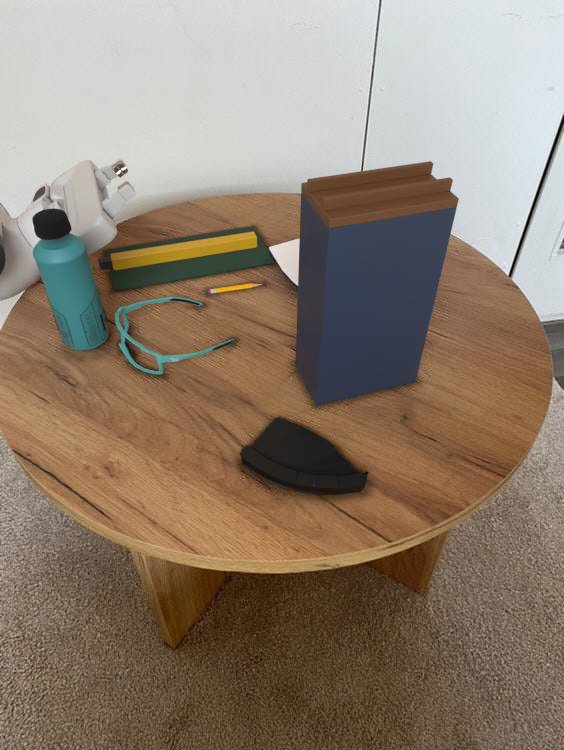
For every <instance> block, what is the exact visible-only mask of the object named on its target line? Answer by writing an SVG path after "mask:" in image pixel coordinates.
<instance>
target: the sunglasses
mask: <svg viewBox="0 0 564 750" xmlns="http://www.w3.org/2000/svg"><path fill="white" fill-rule="evenodd" d="M168 302H172V303H173V302H175V303H176V302H177V303H178V302H179V303H185V304H188V305H189V304H190V305H194V306H197V307H201V306H203V302H200V301H197V300H193V299H189V298H184V297H179V296H177V297H176V296H168V297H167V296H166V297H159V298H153V299H148V300H142V301H138V302H133V303H129V304H127V305H124V306H119V308H118V309H117V310H116V312H115V314H114V323H115V326H116V328H117V329H118V331H119V333H120V342H119V343H118V347H119V349H120V350H121V351H122V353H123V354H124V356H125V358H126V359H127V361H129V363H130V364H131V365H132V367H133V366H134V367H135V368H136V369H138V370H140V371H142V372H144V373H148V374H150V375H157V376H158V375H159V376H160V375H162V374H164V373H165V370H164V369H165V367H164V364H165V363H178V362H180V361H182V360H185V359H190V358H194V357H199V356H205V355H208V354H210V353H212V352H214V351H216V350H220V349H222V348H224V347H226V346H229V345H231V344H233V343H234V342H235V340H236V339H235V338H231V339H229V340H226V341H224V342H221V343H219V344H216V345H212V346H211V347H208V348H206V349H203V350H200V351H199V350H198V351H195V352H190V353H183V354H182V353H181V354H164V355H162V354H161V353H159V352H156V351H154V350H151V349H149V348H147V347H145V346H144V345H143V344H142V343H140V342H138V341H137V340H135V339H133V338H132V337H131V335H129V334H128V332H129V328H130V323H129V319H128V315H127V313H129V312H133V311H136V310H138V309H140V308H142V307H144V306H147V305H149V304H150V305H151V304H163V303H168ZM120 314H121V317H122V322H123V324H124V328H123V327H122V325H121V323H120V318H119V317H120ZM126 339H127V340H128V341H129V343H132V344H133V345H134V346H136V347H138V348H139V349H140V350H141V351H143V352H145V353H147V354H150V355H152V356H154V357H155V358H156V362H157V366H158V370H153V369H149V368H145V367H143V366H142V365H140V364H138V363H137V362H136V361H135V358H137V354H136V353H135V352H134V351H135V350H133V349H132V348H131V347H130V344H129V343H128V342H127V341H126Z"/></svg>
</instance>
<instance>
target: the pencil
mask: <svg viewBox="0 0 564 750" xmlns="http://www.w3.org/2000/svg"><path fill="white" fill-rule="evenodd" d="M261 285H263V284H262V283H253V282H251V283H244V284H237V285H230V286H223V287H216V288H210V289H207V292H208V294H209V295H210V294H217V293H218V294H219V293H225V292H232V291H239V290H244V289H252V288H256V287H259V286H261Z"/></svg>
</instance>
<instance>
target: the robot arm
mask: <svg viewBox="0 0 564 750" xmlns="http://www.w3.org/2000/svg"><path fill="white" fill-rule="evenodd" d="M128 172H129V169H128V165H127V164H126V163H125V162H124V160H123V159H121V158H119V159H117V160H115V161H114V162H113V163H111V164H107V165H104V166H101V167H98V166H97V165H96V164H95V163H94V162H93V161H92V160H91V159H86V160H83V161H80V162H78V163H77V164H75V165H74V166H72V167H70V168H69V169H67V170H66V171H64V172H63V173H62V174H60V175H59V176H57V177H56V178H55V179H54V180H53V181H52V183H50V185H49V184H48V183H43V184H42V185H40V186H39V187H38V188H37V189H36V191H35V193H34V196H33V198H32V200H31V202H30V204H29V205H28V206H27V207H26V209H25V210H24V211H23V212H22V213H21V214H19V215H18V216H16V217H12V216H11V215H10V213H9V212H8V210H7V208H5V206H4V205H3V204H2V203H1V202H0V302H2V301H5V300H8V299H11V298H13V297H16V296H18V295H19V294H21V293H23V292H24V291H26V290H27V289H28V288H31V286H33V285H34V284H35V283H38V281H40V279H42V278H41V275H40V272H39V269H38V266H37V263H36V261H35V259H34V257H33V249H34V247H35V246H36V244H37V243H38V242H39V241H40V240H41V239H40V238H38V237H37V236H36V234H35V231H34V225H33V221H32V218H33V216H34V215H35V214H36V213H38V212H39V211H42V210H45V209H53V208H54V209H61V210H63V211H64V212H65V213H66V214H67V217H68V220H69V222H70V224H71V228H72V229H71V231H70V233H71V234H73V235H76V236H78V237H80V238H81V239H82V240H83V241H84V242H85V244H86V250H87V253H88V257H90V256H91V255H92V254H95V253H96V252H99V250H101V249H103V248H104V247H106V246H108V245H109V244H111V243H113V241H114V239H115V238H116V237H117V235H118V228H117V224H116V220H115V216H116V215H118V214H119V213H120V212H121V211H122V209H123V208H124V206H125V205H126V204H127V202H128V201H129V200H130V199H132V198H133V197H135V196H136V190H135V187H134V186H133V185H132V183H130V181H124V182H123V183H121V184H119V185H118V186H117V190H116V191H115V192H114V193H113V194H112V195H111V196H109V192H108V191H109V190H108V187H107V185H109V184H111V181H112V180H114V179H116V178H119V179H121V178H122V177H123V176H125V175H126V174H128Z"/></svg>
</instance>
